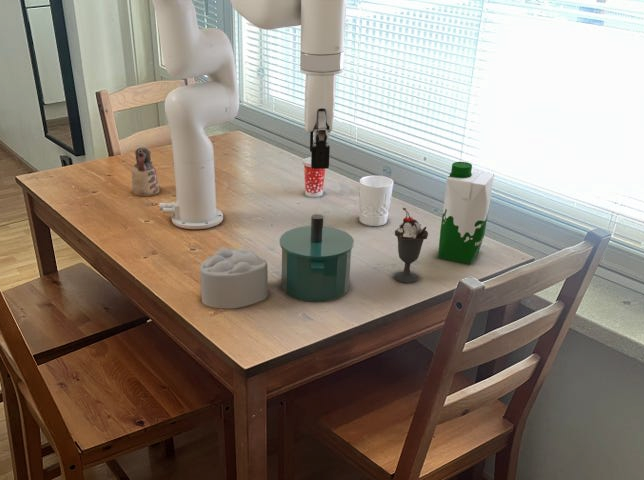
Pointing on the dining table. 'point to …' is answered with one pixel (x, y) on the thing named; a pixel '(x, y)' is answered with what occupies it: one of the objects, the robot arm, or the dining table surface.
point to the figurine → (144, 174)
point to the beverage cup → (313, 179)
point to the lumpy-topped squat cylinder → (233, 279)
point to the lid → (316, 240)
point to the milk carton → (464, 213)
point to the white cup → (375, 199)
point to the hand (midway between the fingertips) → (319, 159)
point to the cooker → (315, 277)
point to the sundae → (409, 246)
